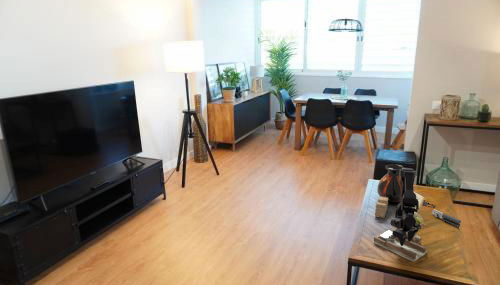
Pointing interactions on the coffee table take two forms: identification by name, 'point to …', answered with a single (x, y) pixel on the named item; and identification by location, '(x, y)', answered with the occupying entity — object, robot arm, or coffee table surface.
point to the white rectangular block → (387, 236)
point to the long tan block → (414, 238)
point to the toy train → (381, 207)
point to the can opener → (446, 218)
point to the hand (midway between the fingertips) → (405, 243)
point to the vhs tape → (427, 203)
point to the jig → (402, 248)
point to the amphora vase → (391, 185)
